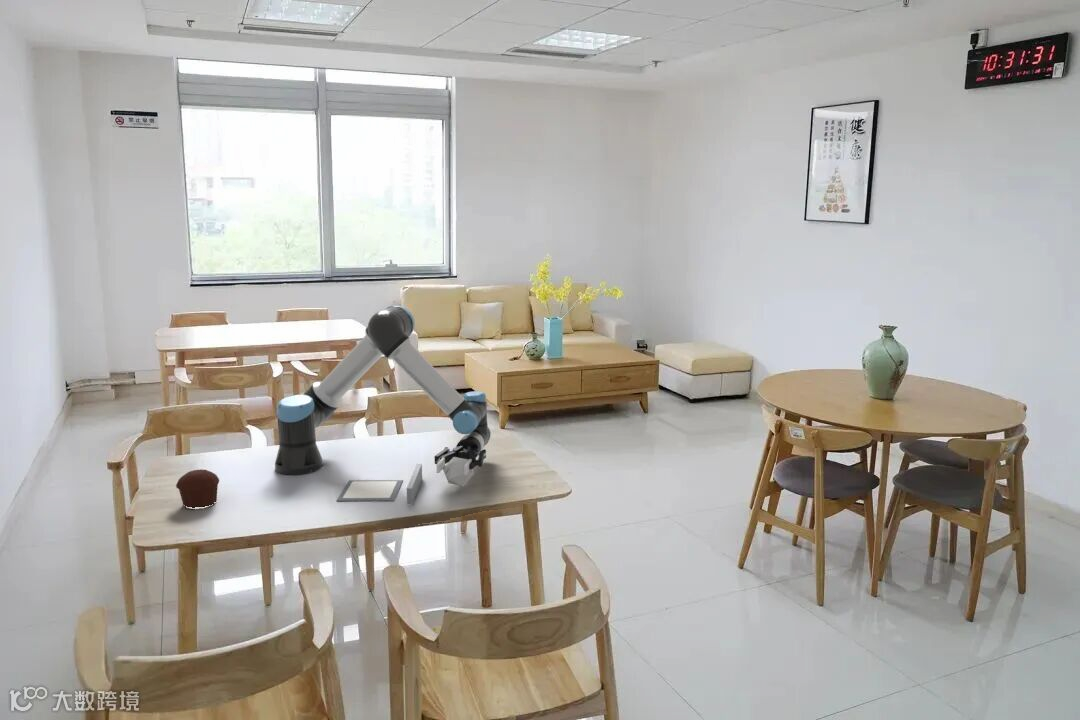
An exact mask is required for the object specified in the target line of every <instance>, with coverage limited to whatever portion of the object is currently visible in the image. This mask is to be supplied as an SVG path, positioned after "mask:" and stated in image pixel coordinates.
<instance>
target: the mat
mask: <svg viewBox="0 0 1080 720" xmlns="http://www.w3.org/2000/svg"><path fill="white" fill-rule="evenodd" d="M403 482H404V480H402V479H397V480H396V479H390V480H389V479H386V480H385V479H378V480H377V479H376V480H375V479H371V480H370V479H366V480H365V479H364V480H363V479H362V480H359V479H358V480H355V479H353V480H352V479H349V480H348V481H347V483H346V485H345V486H344V487H343V489H342V491H341V492H340V494H339V496H337V498H336V500H335V501H336V502H338V503H339V502H341V503H342V502H343V503H346V502H354V503H355V502H356V503H357V502H361V503H362V502H371V503H372V502H374V503H375V502H395V500H396V498H397V496H398V494H399V491H400V489H401V487H402V484H403Z"/></svg>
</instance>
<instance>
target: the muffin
mask: <svg viewBox="0 0 1080 720" xmlns="http://www.w3.org/2000/svg"><path fill="white" fill-rule="evenodd" d="M219 482H220V478H219V477H218V476H217V474H216V473H214V472H212V471H210V470H207V469H195V470H190V471H188V472H187V473H185V474H183V475H182V476H180V478H179V479H178V480H177V483H176V485H175V488H177V489H178V490H179V495H180V499H181V501H182V505H183V504H184V505H185V506H187V507H192V508H195V507H205V506H209V505H212V504H214V502H216V501H217V498H218V486H219ZM216 503H217V502H216ZM214 505H215V504H214Z"/></svg>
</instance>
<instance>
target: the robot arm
mask: <svg viewBox="0 0 1080 720" xmlns="http://www.w3.org/2000/svg"><path fill="white" fill-rule="evenodd" d="M367 323H368V324H367V327H366V328H365V331H364V332H365V336H363V338H362V339H361V340H360V341H359V342H358V343H357V344H356V345H354V347H353V348H352V349H351V350H350V352H349V353H347V355H345V357H344V358H343V359H341V361H339V363H338V364H337V365H336V366H335V367H334V368H333V369H332V370H331V371H330V372H329V373H328V374H327V375H326V377H324V379H323V380H321V381H316V382H313V384H312V385H311V386H310V387H309V388H308V389H307V390H306V391H305V392H304V393H303V394H295V395H294V394H293V395H290V396H285V397H284V398H282V399H280V400H279V401H278V402H277V405H276V418H277V432H278V433H277V434H278V445H279V446H278V451H277V454H276V457H275V458H276V459H275V461H274V466H275V467H274V470H275V472H277V473H279V474H282V475H291V476H292V475H294V476H295V475H296V476H297V475H305V474H309V473H314V472H316V471H318V470H320V469H321V468H322V467H323V458H322V455H321V451H320V450H319V447H318V445H317V440H316V439H317V438H316V437H317V436H316V428H317V427H319V426H321V425H322V424H324V423H325V422H327V421H328V420H330V419H331V418H332V416H333V414H334V413H335V411H336V410H338V408H339V407H340V406H341V405H342V404H341V403H342V402H341V398H342V397H344V396H345V395H346V393H348V392H349V391H350V389H352V387H353V386H354V385H355V384H357V382H358V381H360V379H361V378H362V377H363V376H364V375H365V374H366V373H367V372H368V371H369V370H370V369H371V368H372V366H373V365H375V363H377V362H378V360H379V359H380V358H382V356H384V357H385V358H387V360H393V361H394V362H395V364H397V366H398V367H399V368H400V369H402V371H403V372H404V373H405V374H406V375H408V377H409V378H410V379H411V380H412V381H413V382H414V383H415V384H416V385H417V386H418V387H419V389H421V390H422V391H423V392H424V393H425V394H426V395H427V396H428V397H429V398H430V400H432V401H433V402H434V403H435V405H437V406H438V407H439V409H440V410H442V412H444V414H445V415H446V416H447V417H448V418H449V419H450V420H451V421H452V425H453V429H454V430H455V431H456V432H457V433H458V434H462V435H463V436H462V437H461V438H460V440H459V441H457V445H456V446H455V447H453V448H452V449H450V448H449V446H445V447H444V448H443V450H440V451H439V452H438V453H436V454H435V455H434V456H433V457H434V464H435V465H436V473H437V474H440V473H441V471H443V468H444V467H445V466H446V464H447V463H448V462H449V461H450V460H451V459H452V458H453V457H457V458H462V459H468V462H467V463H466V464H465V465H464V475H467V474H468V472H469V471H470V469H472V470H474V469H475V468H476V467H479V468H482V467H483V465H484V460H485V459H486V458H487V450H486V449H485V448H484V447H485V446H487V444H488V443H489V441H490V439H491V435H492V433H491V429H490V428H489V424H488V408H487V407H488V406H487V403H488V401H487V394H486V393H485V392H484V391H477V390H475V391H468V392H466V393H464V395H463V396H462V395H461V394H460V393H459V392H458V391H457V390H456V389H455V388H454V387H453V386H452V385H451V383H449V382H448V381H447V380H446V379H445V378H444V376H442V374H441V373H440V372H438V370H437V369H436V368H435V367H434V366H433V365H432V364H431V363H430V362H429V361H428V360H427V359H426V358H425V357H424V356H423V355H422V354H421V352H420V351H418V349H416V348H415V346H414V345H412V344H411V338H410V336H411V335H412V333H413V332H414V330H415V319H414V316H413V315H412V312H410V311H409V310H408V309H407V308H405V307H404V306H401V305H392V306H391V305H390V306H389V307H388V306H387V308H384V309H383V310H380V311H377V312H376V313H374V314H373V315H372V316H371V317H370V318H369V321H368V322H367ZM477 457H478V458H477Z"/></svg>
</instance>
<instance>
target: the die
mask: <svg viewBox="0 0 1080 720" xmlns="http://www.w3.org/2000/svg"><path fill="white" fill-rule="evenodd" d="M467 462H468V459H462V458H457V457H453V458H452V459H451V460H450V461H449V462H448V463H446V464H445V467H444V468H443V469H442V471H443V474H444V476H445V479H446V481H447V482H448V484H450V485H454V486H459V487H464V485H465V484H467V482H469V480H470V479H471V478H472V477H473V476H474V472H473V469H470V471H469V472H468V474H467V475H464V465H465V464H466V463H467Z"/></svg>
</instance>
